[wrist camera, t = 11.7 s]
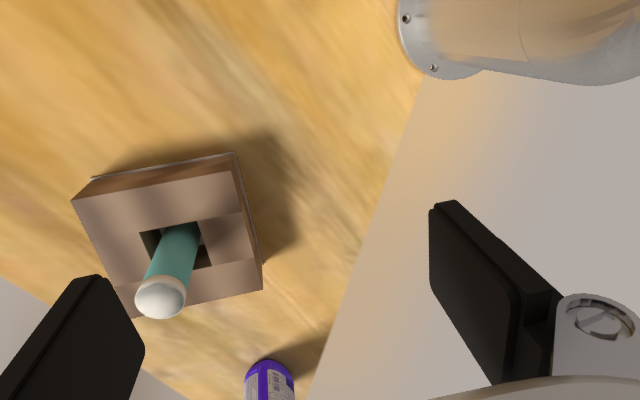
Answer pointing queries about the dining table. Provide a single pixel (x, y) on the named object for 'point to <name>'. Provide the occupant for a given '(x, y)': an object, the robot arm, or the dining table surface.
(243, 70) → the dining table surface
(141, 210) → the socket block
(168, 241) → the peg
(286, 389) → the bottle
